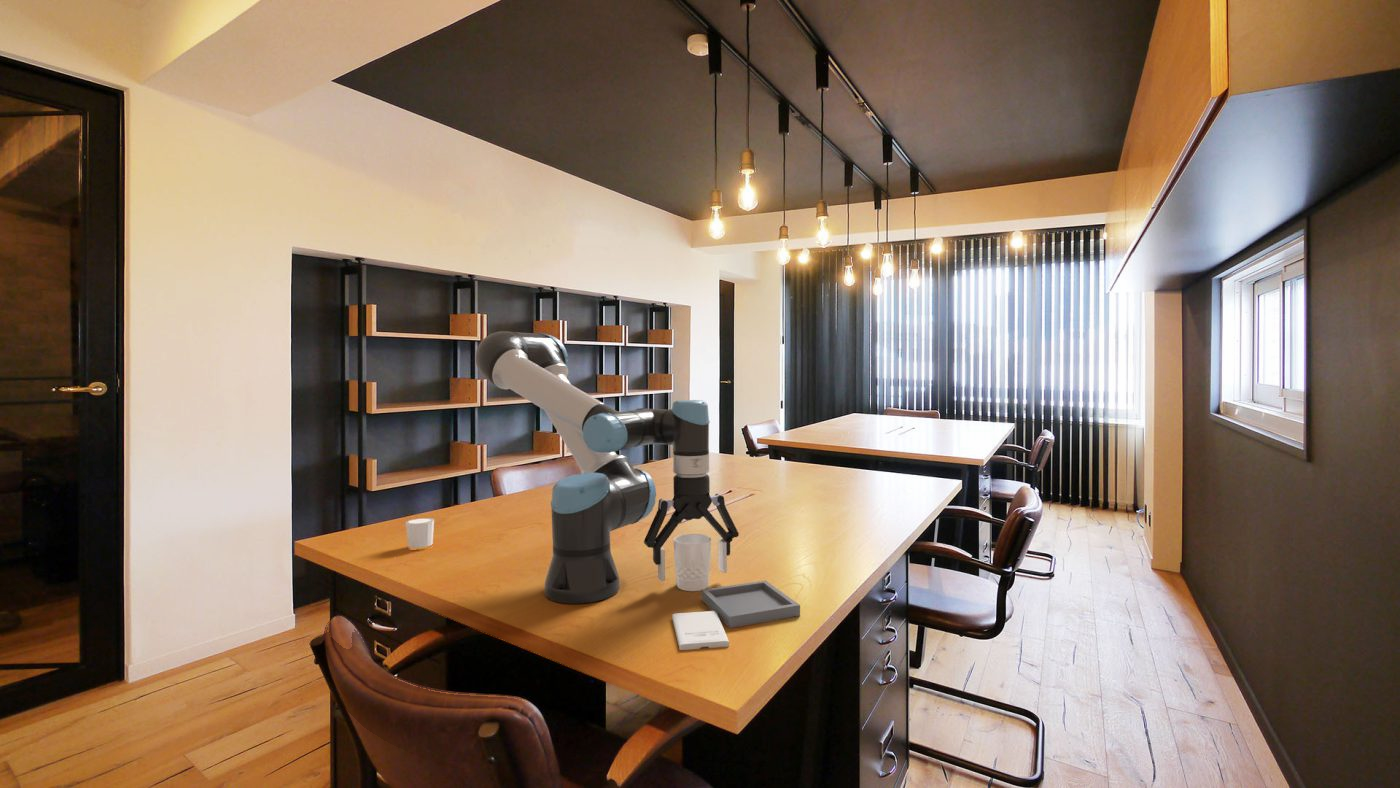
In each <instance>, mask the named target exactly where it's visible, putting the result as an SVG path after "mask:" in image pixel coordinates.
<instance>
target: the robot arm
mask: <svg viewBox="0 0 1400 788" xmlns="http://www.w3.org/2000/svg"><path fill="white" fill-rule="evenodd" d="M567 357H569V355H568V352H567V349H566V347H565V345H564V344H563V342H562V341H561V340H560V339H559V338H557V337H555V336H553V335H551V334H546V333H542V332H532V333H531V332H517V331H506V330H504V331H503V330H501V331H497V332H493V333H490V334H489V335H487V336H485V337H484V338H483V339H482V340H481V341H480V343H479V344H478V346H477V348H476V351H475V363H476V364H475V365H476V368H477V369H478V371H479V373H480V375H482V376H483V378H484V379H486V380H487V381H488V382H489V383H491V384H492V385H494V386H496V387H497V388H499V389H500V390H509V389H510V390H511V391H513V392H514V393H516V394H518V395H519V396H521V398H524V399H525V400H527V401H528V402H530V403H533V405H535V406H536V407H539V409H542V410H543V411H544V412H545V414H546V415H547V417H548V418H549V420H550V422H551V423H552V425H553V426H554V428H555V430H556V431H557V433H558V435H559V436H560V437H561V438H560V439H562V440H563V442H564V444H565V445H566V447H567V449H568V451H569V452H570V453H571V455H572V457H573V458H574V460H575V462H576V463H577V465H578V467H579V468H580V470H581V471H582V473H580V474H578V473H577V474H573V475H572V474H571V475H569V476H566V477H563V478H561V479H559V480H558V481H557V482H555V484H554V485H553V486H552V489H551V492H552V493H551V501H550V508H551V528H552V529H551V532H552V536H551V537H552V558H551V560H550V564H549V567H548V571H547V574H546V577H545V580H544V595H545V597H546V598H547V599H548V598H549V599H548V600H550V601H553V602H556V603H561V604H571V605H573V604H577V605H579V604H587V603H588V604H589V603H594V602H598V601H602V600H605V599H607V598H611V597H612V596H614V595H616V594H617V592H618V591H620V575H619V571H618V570H617V566H616V564H615V560H614V558H613V555H612V551H611V532H612V531H615V530H618V529H621V528H623V527H626V526H628V525H633V524H637V523H638V522H640V521H641V520H643V519H645V518H646V517H648V516H649V515H650V514H651V512H652V511H653V509H654V507H655V504H656V497H657V488H656V483H655V482H654V479H653V478H652V476H651V475H650V474H649V473H648V472H647V471H646V470H644V469H640V468H634V466H633V464H632V463H631V462H630V460H629V459H628V457H627V456H625V455H620V454H617V452H618V451H623V450H626V449H631V448H637V447H644V446H647V445H667V446H672V454H673V455H672V458H673V459H672V461H673V464H672V466H673V467H672V472H673V473H674V476H673V478H672V479H673V498H672V499H671V500H670V499H669V500H666V499H663V498H659V500H658V505H657V506H658V507H657V510H656V513H655V515H654V518H653V520H652V521H651V524H650V526H649V529H648V531H647V533H646V535H645V538H644V540H643V544H644V545H645V546H646V547H648V548H652V559H653V561H652V562H653V564H655V566H657V578H658V580H660V581H661V582H666V556H665V555H666V550H665V548H664V547H663V545H664V544H665V543H666V542H667V541H668V539H669V538H670V537H671V535H672V534H673V532H674V531H675V530H676V528H677V527H678V526H679V524H681V523H682V522H683V520H686V521H691V520H693V519H694V520H700V519H701V518H704V519H705V520H706V521H707V523H708V524H710V526H711V527H712V528H713V529H714V530H715V531H716V533H717V534H719V536H720V537H721V538H718V542H717V543H718V544H717V545H718V548H717V549H718V570H719V571H720V572H722V573H723V574H726V573H727V571H728V569H727V568H728V566H727V560H728V559H727V556H730V555H731V542H732V541H733V539H734V538H737V537H739V535H740V533H739V531H738V529H737V527H736V525H735V523H734V521H733V520H732V517H731V515H730V513H729V510H728V509H727V507H726V502H725V498H724V496H723V495H722V494H720V493H716V494H714V495H713V496H710V495H711V494H710V490H711V489H710V485H711V484H710V475H709V474H708V473H709V472H710V449H709V446H710V443H709V441H710V435H709V434H710V429H709V428H710V418H709V417H710V416H709V406H708V403H707V402H706V401H704V400H702V399H701V400H700V399H690V400H689V399H682V400H674V401H673V402H672V406H671V407H672V408H671V409H665V408H664V409H661V408H660V409H658V408H647V407H642V408H639V407H638V408H631V409H629V410H627V411H626V410H625V411H617V410H616V409H614V408H612V407H610V406H609V405H606V404H605V403H603V402H602V401H600V400H599V399H597V398H595V397H593V396H591V395H590V394H588V393H587V392H585V391H583V390H581V389H579V388H578V387H576V386H574V385H573V384H572V383H571V382H570V380H569V379H568V378H567V377H568V375H569V368H568V367H569V360H568V359H567ZM711 504H713V506H714V507H715V506H716V509H717V511H718V513H719V516H720V518H721V519H722V521H723V523H724V525H725V527H726V529H727V531H726V529H724V527H723V526H722V524H720V522H718V520H717V519H716V518H715V517H714V515H713V514H712V513H711V512H710V510H708V509H709V508H710V506H711ZM671 507H673V509H674V511H673V513H672V514H671V516H670V518H669V519H668V521H667V522H666V523H665V525H664V527H663V528H662V525H663V523H664V520H665V518H666V516H667V513H668V511H670V509H671ZM701 520H702V519H701ZM661 528H662V529H661Z"/></svg>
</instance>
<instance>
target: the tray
mask: <svg viewBox="0 0 1400 788" xmlns="http://www.w3.org/2000/svg"><path fill="white" fill-rule="evenodd" d="M701 601H702V602H704V603H705V605H706V606H707V607H708V608H709V609H710V611H716V612H717V614H718V617H719V619H720V621H722V622H723V623H724V624H725V625H726V626H727V627H728V628H729V629H732V628H737V627H743V626H748V625H754V624H755V625H756V624H760V623H768V622H771V621H778V620H779V621H780V620H785V619H790V618H795V617H794V616H796V617H800V616H801V605H800V604H799V603H798V602H796V601H795V600H793V599H792V598H791V597H789V596H788V595H787V594H785V593H784V592H782V591H781V590H779V588H777V587H775V585H772V583H770V582H769V581H767V580H761V581H753V582H745V583H737V584H731V585H725V586H719V587H713V588H712V587H711V588H706V589H704V590H701Z"/></svg>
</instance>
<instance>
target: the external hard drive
mask: <svg viewBox="0 0 1400 788" xmlns="http://www.w3.org/2000/svg"><path fill="white" fill-rule="evenodd" d="M671 616H672V618H671V619H672V624H673V626H674V627H673V629H674V631H675V635H676V640H677V644H678V649H679V651H686V650H687V651H688V650H699V649H705V648H708V649H712V648H725V647H726V648H727V647H730V641H729V638H728V636H727V633H726V631H725V629H724V626H723V624H722V622H721V621H722V620H721V619H720V618H719V617H718V614H717V612H716V611H712V610H707V611H695V612H694V611H692V612H679V613H678V612H676V613H672V615H671Z"/></svg>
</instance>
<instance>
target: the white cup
mask: <svg viewBox="0 0 1400 788" xmlns="http://www.w3.org/2000/svg"><path fill="white" fill-rule="evenodd" d="M711 551H712V537H710V536H709V535H707V534H700V533H685V534H679V535H677V536H675V537H673V557H674V559H673V560H674V565H675V566H674V568H675V569H674V570H675V571H674V572H675V578H676V579H675V581H676V587H677V588H678V589H679V590H682V591H687V592H700V591H702V590H704V589H708V587H709V585H710V574H711V573H710V571H711V556H712V555H711Z"/></svg>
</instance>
